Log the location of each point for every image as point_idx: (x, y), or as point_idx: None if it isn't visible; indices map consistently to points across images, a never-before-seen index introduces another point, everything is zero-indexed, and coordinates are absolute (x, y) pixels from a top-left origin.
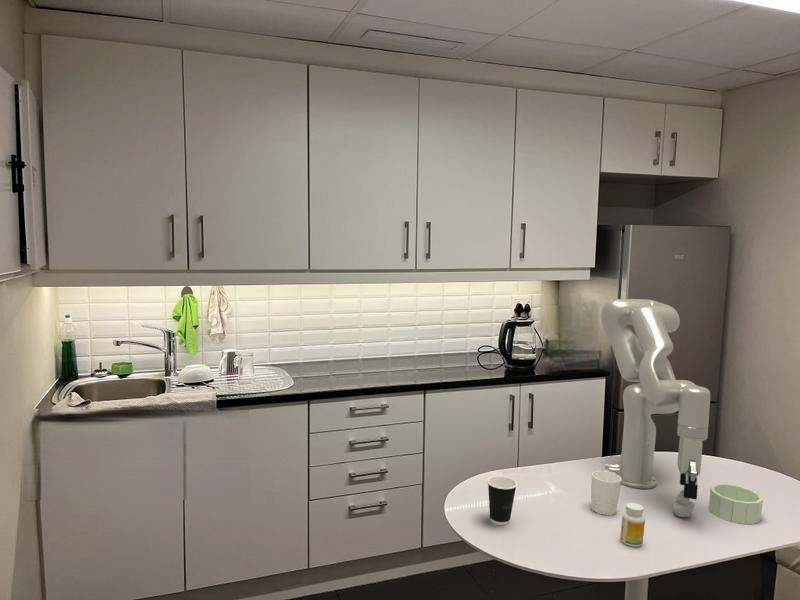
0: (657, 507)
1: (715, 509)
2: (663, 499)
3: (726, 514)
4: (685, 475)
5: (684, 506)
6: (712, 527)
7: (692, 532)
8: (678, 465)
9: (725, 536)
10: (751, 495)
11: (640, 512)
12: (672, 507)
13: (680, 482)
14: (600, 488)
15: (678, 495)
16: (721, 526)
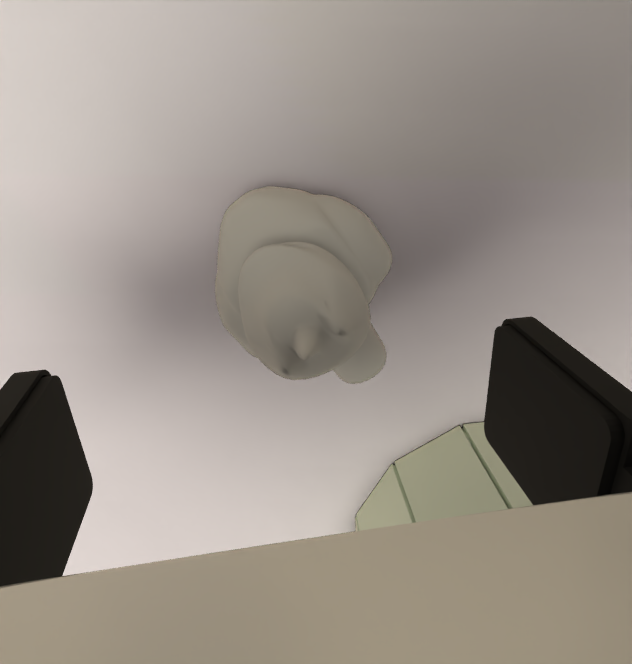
0: (374, 46)
1: (431, 471)
2: (577, 108)
3: (376, 521)
4: (566, 450)
5: (238, 307)
6: (209, 434)
7: (27, 324)
8: (377, 611)
9: (119, 492)
10: None
11: None
12: (258, 191)
13: (520, 331)
14: None
15: (290, 278)
16: (257, 475)
